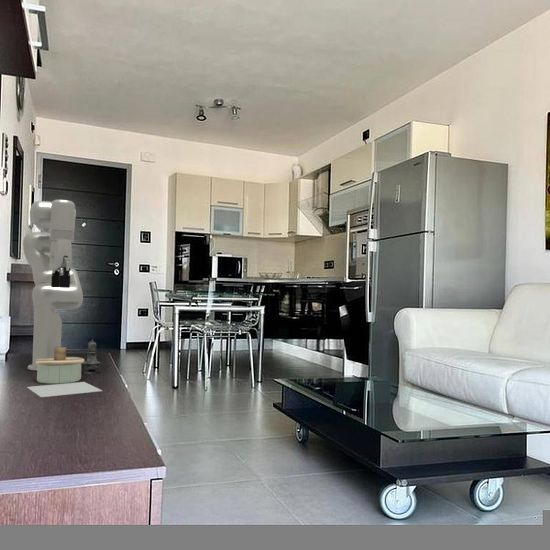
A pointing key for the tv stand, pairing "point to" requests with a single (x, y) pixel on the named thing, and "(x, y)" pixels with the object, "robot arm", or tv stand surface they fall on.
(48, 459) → the tv stand surface
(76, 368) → the bowl
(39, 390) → the mat
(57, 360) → the lid
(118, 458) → the tv stand surface
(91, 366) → the salt shaker
